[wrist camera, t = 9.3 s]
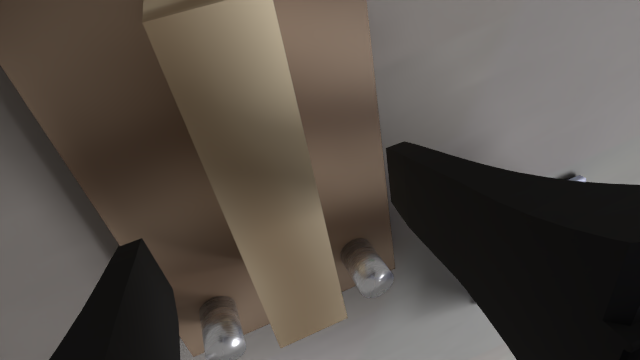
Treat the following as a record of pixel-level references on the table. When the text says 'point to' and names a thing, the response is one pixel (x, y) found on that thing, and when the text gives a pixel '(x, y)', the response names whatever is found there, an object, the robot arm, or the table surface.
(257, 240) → the pine shelf board
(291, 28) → the peg base
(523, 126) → the table surface
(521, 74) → the table surface
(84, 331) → the robot arm
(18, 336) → the table surface
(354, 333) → the table surface
